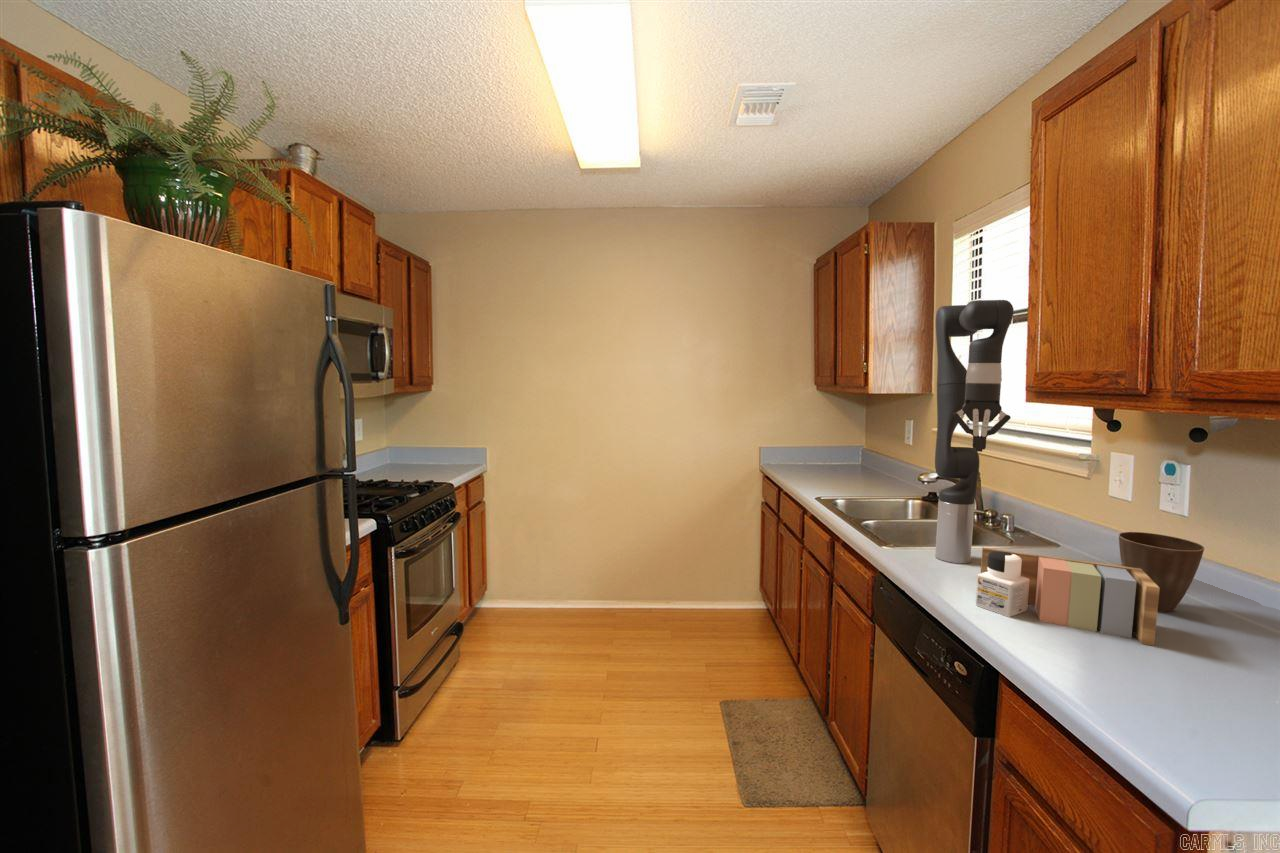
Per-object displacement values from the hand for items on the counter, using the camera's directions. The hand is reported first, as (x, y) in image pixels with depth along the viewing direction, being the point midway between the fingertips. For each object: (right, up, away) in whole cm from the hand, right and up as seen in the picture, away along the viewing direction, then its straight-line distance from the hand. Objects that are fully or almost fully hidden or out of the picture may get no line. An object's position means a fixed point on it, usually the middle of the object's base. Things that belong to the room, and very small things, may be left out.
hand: (978, 451), depth 145 cm
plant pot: (+37, -37, -8) cm, 52 cm away
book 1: (+8, -37, -14) cm, 40 cm away
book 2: (+12, -37, -17) cm, 42 cm away
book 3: (+17, -37, -20) cm, 45 cm away
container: (-1, -36, -11) cm, 38 cm away
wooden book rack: (+9, -37, -16) cm, 41 cm away
